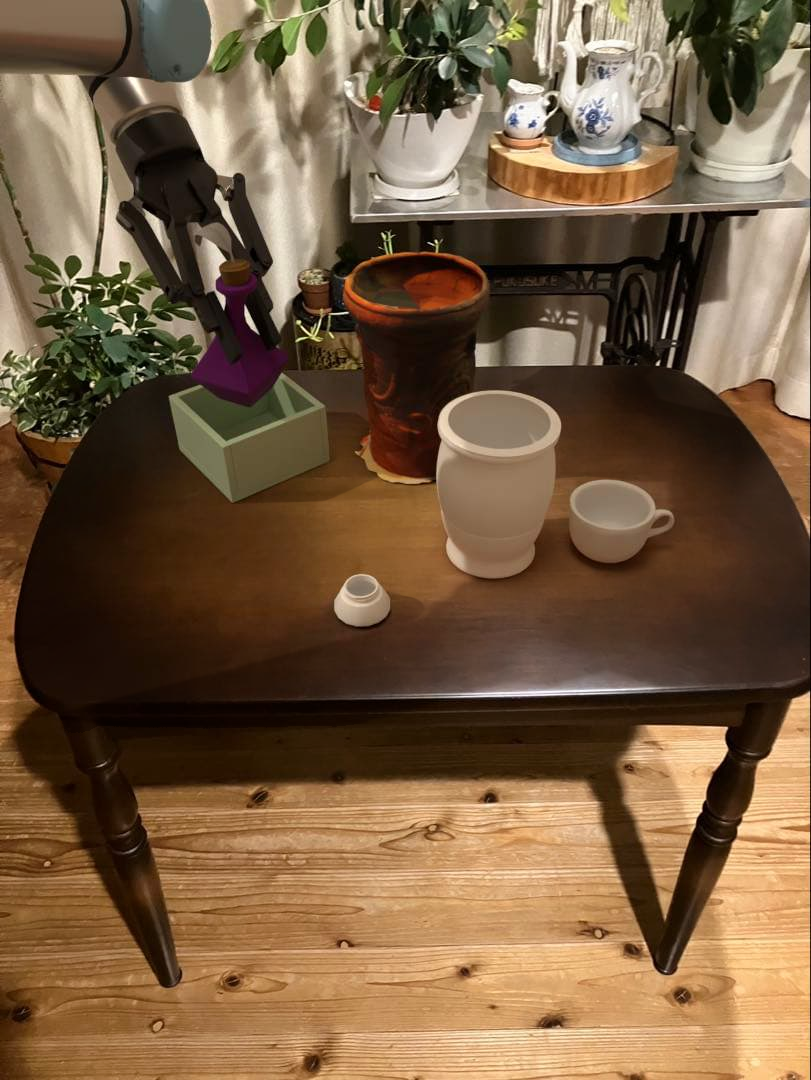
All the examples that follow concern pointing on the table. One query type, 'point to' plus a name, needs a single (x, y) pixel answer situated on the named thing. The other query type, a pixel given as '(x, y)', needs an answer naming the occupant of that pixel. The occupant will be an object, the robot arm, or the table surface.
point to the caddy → (251, 436)
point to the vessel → (413, 352)
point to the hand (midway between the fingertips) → (256, 351)
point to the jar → (495, 479)
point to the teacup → (613, 520)
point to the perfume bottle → (237, 335)
